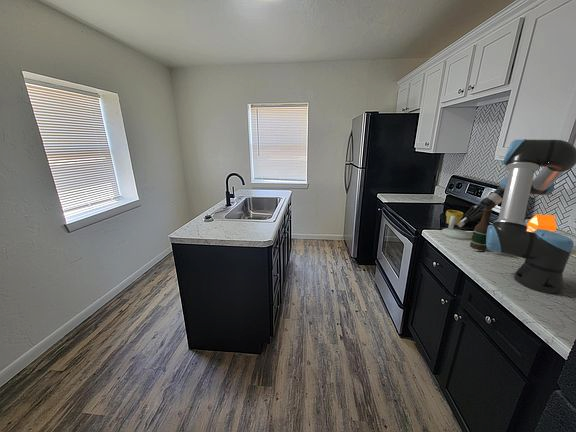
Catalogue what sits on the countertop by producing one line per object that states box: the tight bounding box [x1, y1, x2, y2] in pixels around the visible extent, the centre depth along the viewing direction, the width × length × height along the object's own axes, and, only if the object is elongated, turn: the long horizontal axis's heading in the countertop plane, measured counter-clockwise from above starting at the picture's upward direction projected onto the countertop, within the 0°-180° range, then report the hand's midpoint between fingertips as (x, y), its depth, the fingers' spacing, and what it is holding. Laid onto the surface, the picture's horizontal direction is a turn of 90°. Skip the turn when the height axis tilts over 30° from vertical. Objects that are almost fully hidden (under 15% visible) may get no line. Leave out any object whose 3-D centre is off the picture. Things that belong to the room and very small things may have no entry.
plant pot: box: [445, 209, 464, 226], centre depth 178 cm, size 10×10×10 cm
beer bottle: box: [469, 208, 493, 253], centre depth 135 cm, size 8×8×24 cm
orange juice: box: [526, 213, 557, 232], centre depth 140 cm, size 8×9×20 cm
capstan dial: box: [441, 216, 473, 241], centre depth 155 cm, size 16×16×11 cm
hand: (458, 225), depth 160 cm, fingers closed
